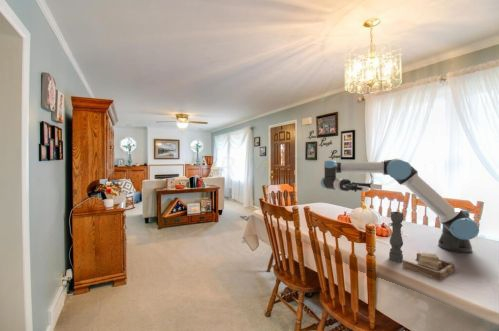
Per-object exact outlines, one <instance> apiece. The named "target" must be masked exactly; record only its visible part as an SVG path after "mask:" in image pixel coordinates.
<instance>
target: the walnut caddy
mask: <svg viewBox="0 0 499 331" xmlns="http://www.w3.org/2000/svg"><path fill="white" fill-rule="evenodd" d="M416 260H418V261H419V252H417V253H416ZM439 261H440V262H442V267H441V268H442V269H441V270H439V271H438V270H436V269H433V268H430V267H427V266H424V265H421V264H419V263H414V262H411V261H409V260H406V259H403V262H402V267H403V266H404V267H403V268H406V269H409V270H410V271H411V270H412V271H415V272H417V273H419V274H422V275H425V276H428V277H430V276H431V278H433V279H437V280H439V281H442V280H443V279H445V278H446V277H447V276H449V275H450V274H451V273H453V272H454V271H456V270H455V268H456V266H455V263H452V262H448V261H446V260H442V259H439Z"/></svg>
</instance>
